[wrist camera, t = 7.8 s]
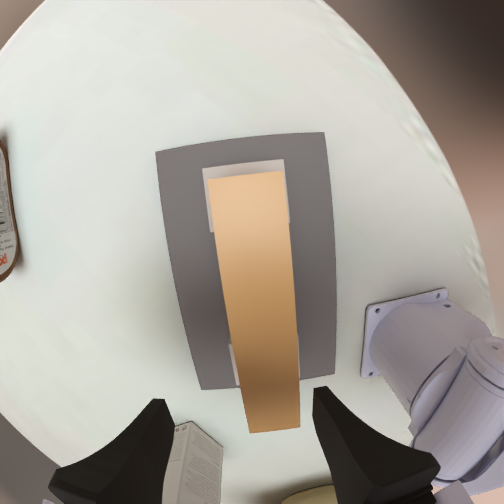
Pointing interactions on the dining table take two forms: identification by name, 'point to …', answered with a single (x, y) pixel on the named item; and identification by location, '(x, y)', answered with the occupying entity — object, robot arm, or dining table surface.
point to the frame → (259, 294)
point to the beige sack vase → (314, 496)
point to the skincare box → (193, 468)
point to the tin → (6, 220)
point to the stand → (205, 252)
